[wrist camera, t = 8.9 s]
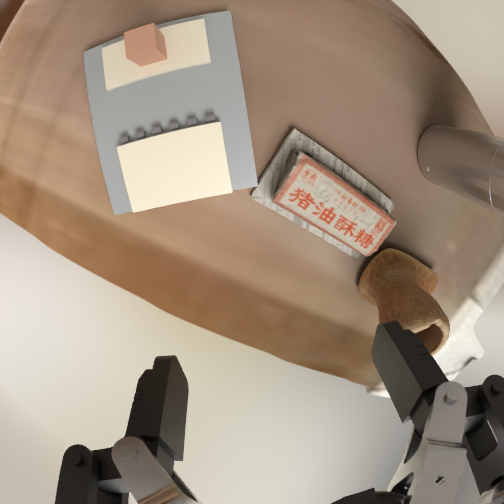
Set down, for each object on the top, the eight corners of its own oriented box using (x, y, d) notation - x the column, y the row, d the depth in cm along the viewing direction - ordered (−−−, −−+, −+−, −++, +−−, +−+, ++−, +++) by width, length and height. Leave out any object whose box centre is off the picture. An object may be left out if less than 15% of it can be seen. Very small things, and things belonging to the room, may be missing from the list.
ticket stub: (204, 21, 22) (200, 1, 16) (211, 62, 24) (207, 49, 19) (105, 49, 22) (82, 38, 16) (109, 90, 24) (86, 86, 19)
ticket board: (230, 14, 23) (230, 7, 21) (256, 183, 33) (259, 188, 30) (88, 54, 23) (80, 50, 20) (118, 211, 32) (111, 218, 30)
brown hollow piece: (338, 297, 42) (377, 368, 28) (381, 234, 37) (442, 290, 24) (395, 320, 46) (433, 377, 32) (433, 269, 42) (483, 319, 28)
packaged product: (410, 212, 31) (367, 272, 35) (391, 201, 36) (353, 256, 39) (301, 127, 26) (252, 206, 29) (290, 127, 30) (248, 195, 34)
